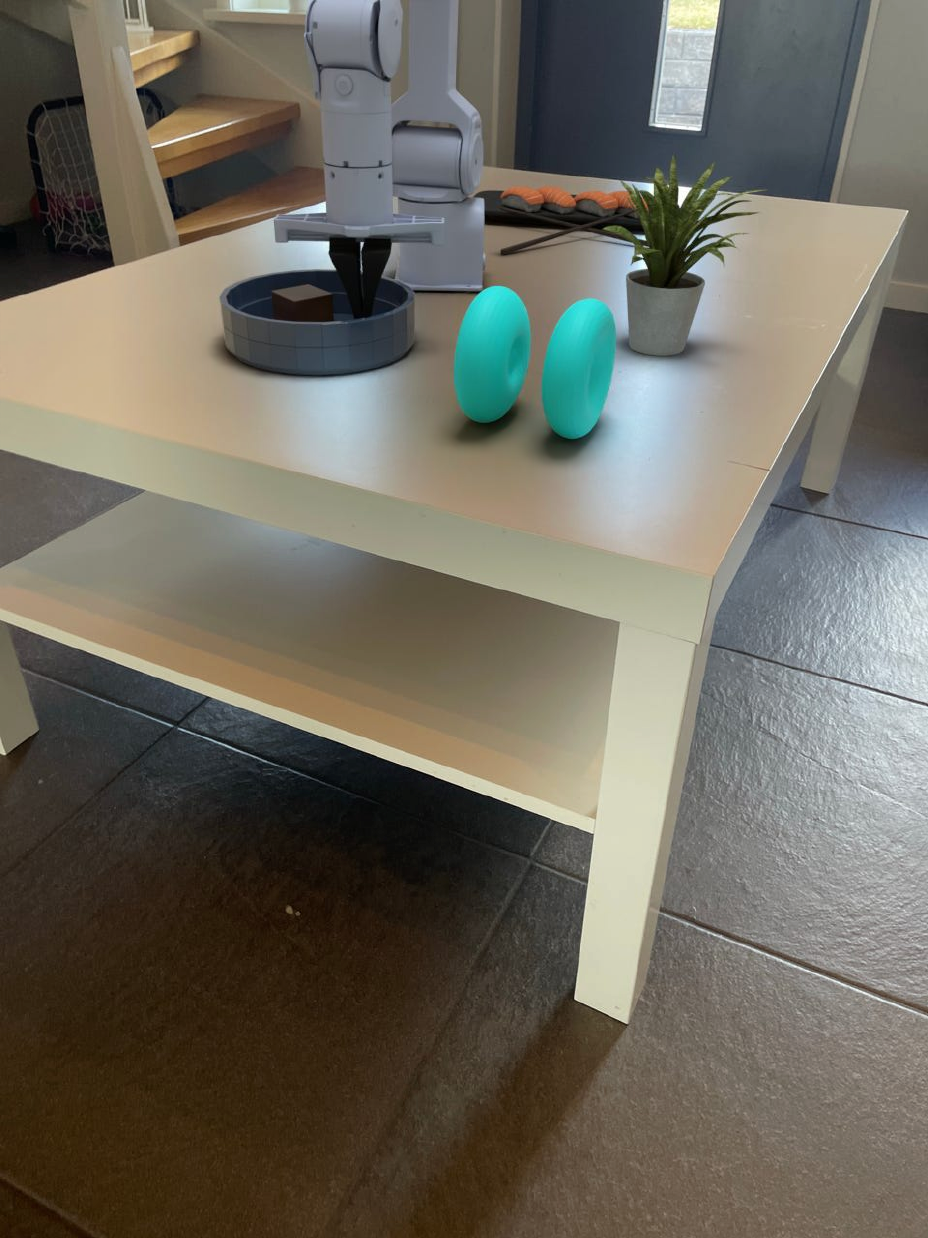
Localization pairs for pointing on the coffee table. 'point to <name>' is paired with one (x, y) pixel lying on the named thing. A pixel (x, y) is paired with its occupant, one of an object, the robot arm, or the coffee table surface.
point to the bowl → (316, 326)
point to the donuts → (501, 355)
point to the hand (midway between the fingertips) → (363, 325)
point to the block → (302, 304)
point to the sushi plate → (562, 211)
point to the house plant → (670, 260)
